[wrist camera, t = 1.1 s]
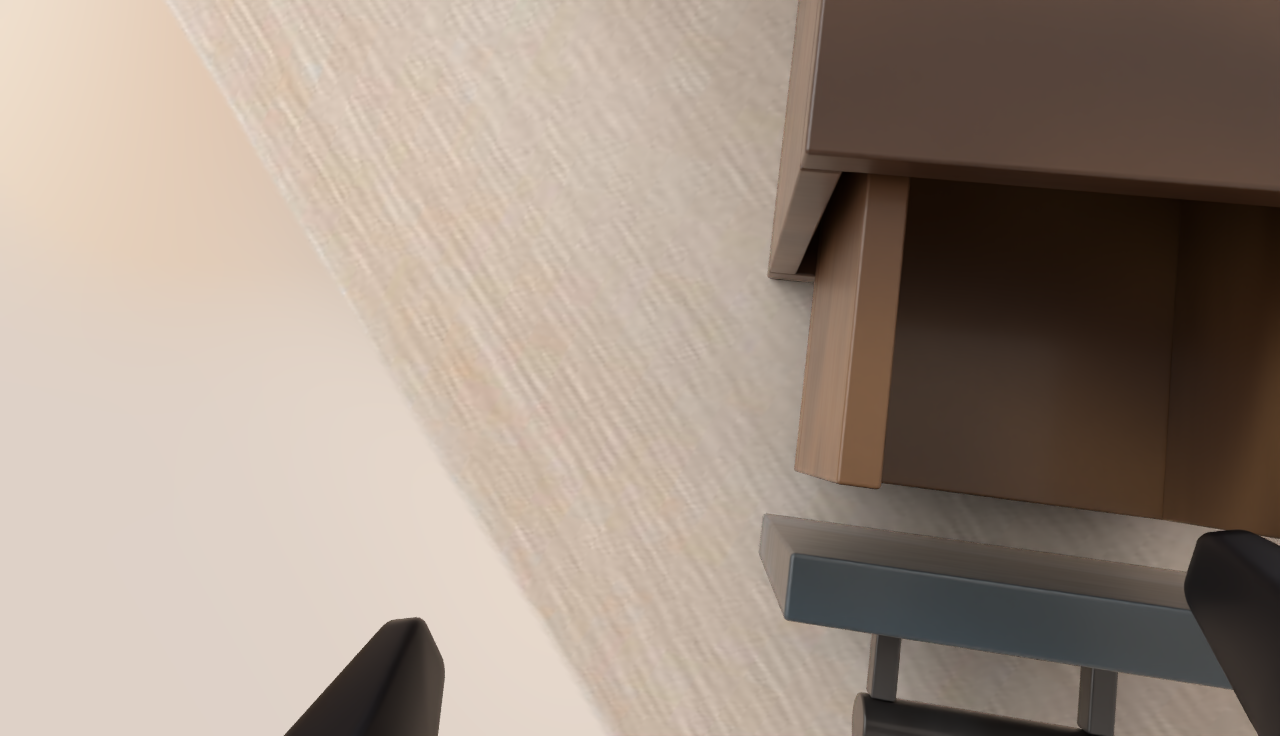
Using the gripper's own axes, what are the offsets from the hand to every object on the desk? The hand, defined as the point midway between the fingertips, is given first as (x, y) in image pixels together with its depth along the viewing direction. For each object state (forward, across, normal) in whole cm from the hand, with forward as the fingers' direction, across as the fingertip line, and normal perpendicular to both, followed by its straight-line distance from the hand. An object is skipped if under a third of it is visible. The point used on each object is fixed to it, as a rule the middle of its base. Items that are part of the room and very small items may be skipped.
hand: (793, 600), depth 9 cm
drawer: (+11, -7, +6) cm, 14 cm away
